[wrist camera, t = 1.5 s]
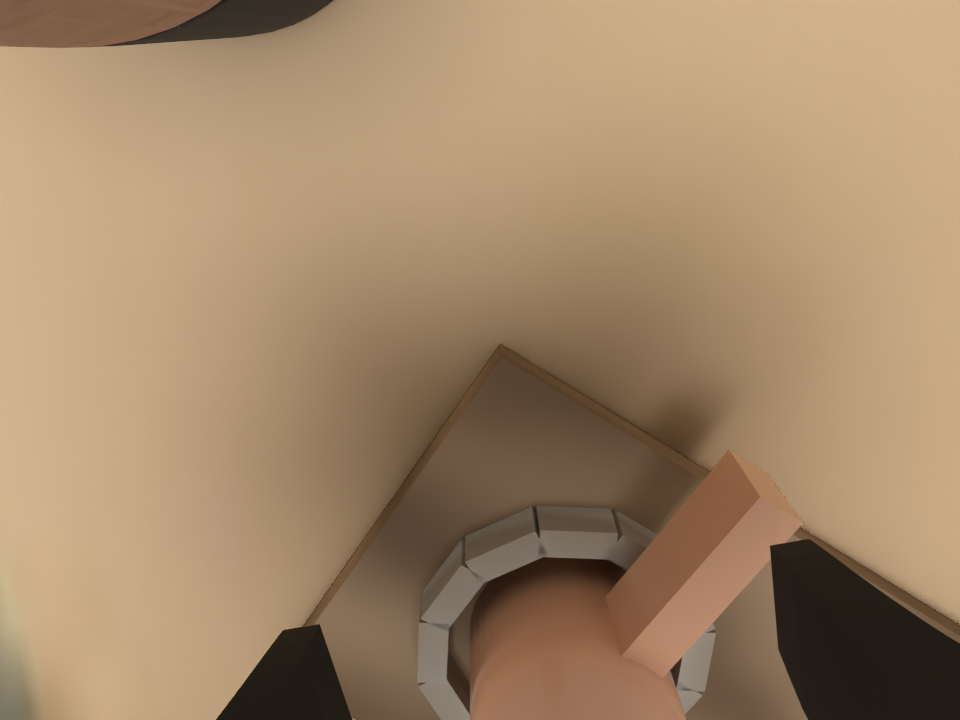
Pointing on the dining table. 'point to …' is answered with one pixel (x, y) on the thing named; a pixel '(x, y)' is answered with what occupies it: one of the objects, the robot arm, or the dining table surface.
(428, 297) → the dining table surface
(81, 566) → the dining table surface
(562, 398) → the board
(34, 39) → the travel mug
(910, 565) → the dining table surface
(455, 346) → the dining table surface
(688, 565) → the cylinder with stick handle
